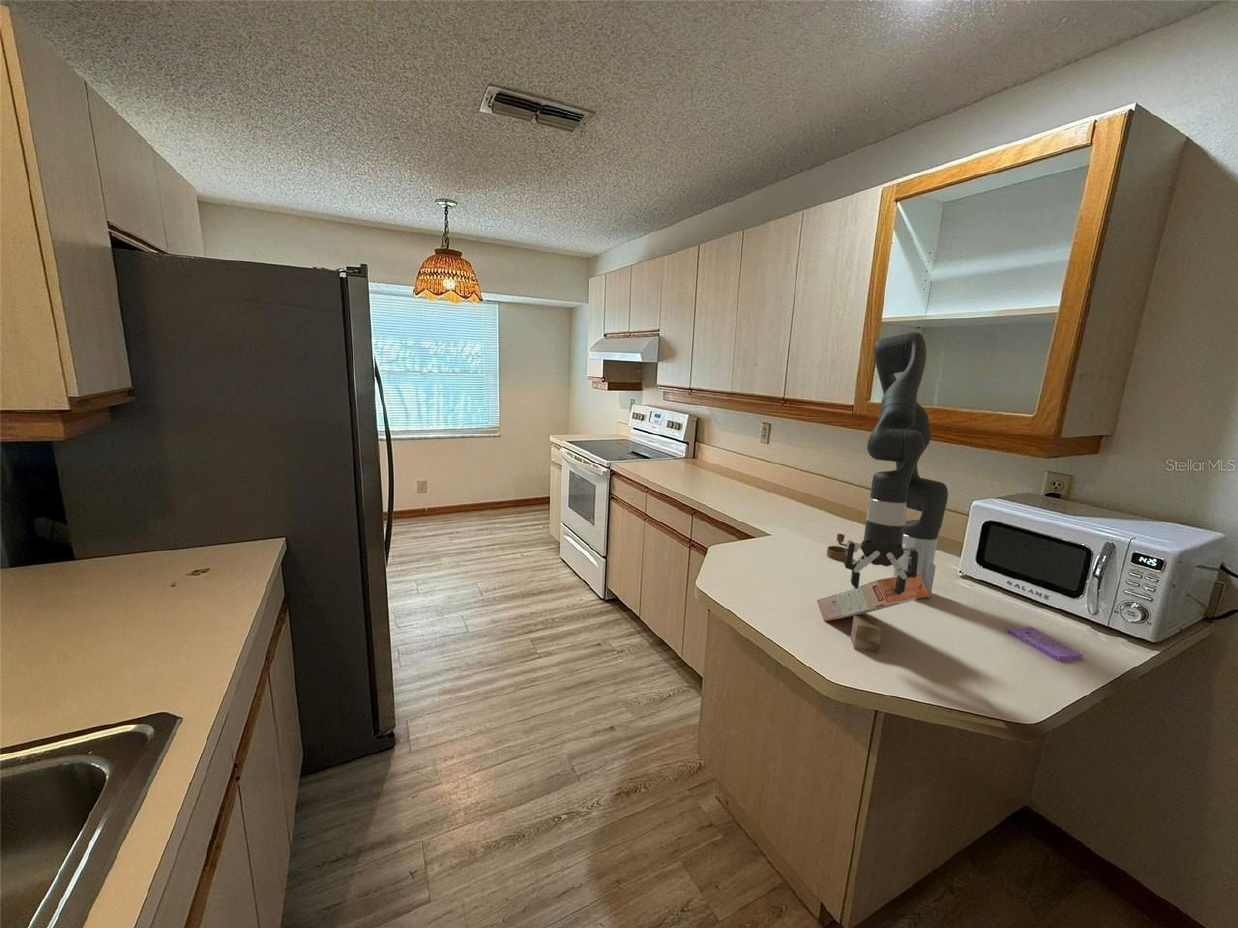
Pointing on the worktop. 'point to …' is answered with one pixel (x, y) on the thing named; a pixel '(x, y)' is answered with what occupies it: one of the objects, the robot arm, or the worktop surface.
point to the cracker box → (870, 597)
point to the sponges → (1045, 643)
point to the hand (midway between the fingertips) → (876, 590)
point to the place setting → (837, 550)
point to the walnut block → (866, 634)
